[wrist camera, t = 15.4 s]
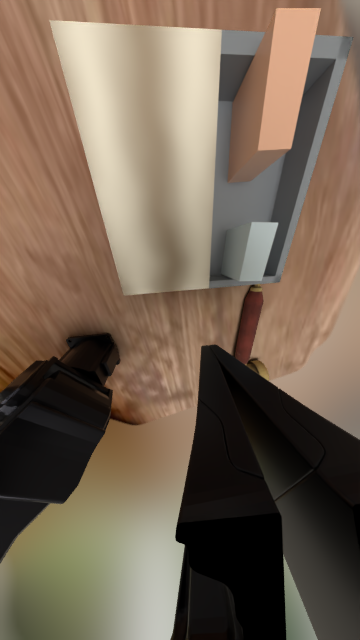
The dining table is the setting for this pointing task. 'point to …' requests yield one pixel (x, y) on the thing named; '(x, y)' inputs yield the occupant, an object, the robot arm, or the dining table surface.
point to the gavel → (250, 330)
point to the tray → (285, 173)
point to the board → (148, 143)
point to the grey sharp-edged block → (248, 250)
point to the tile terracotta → (271, 94)
